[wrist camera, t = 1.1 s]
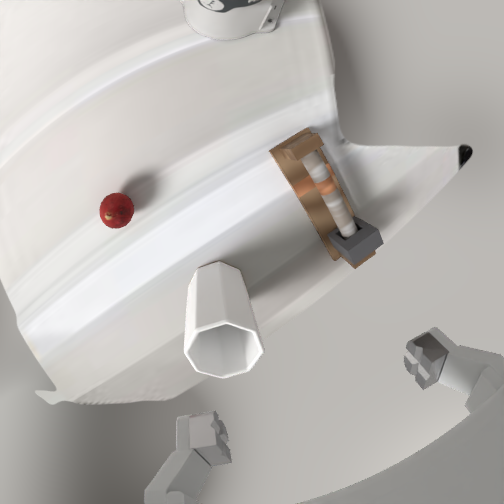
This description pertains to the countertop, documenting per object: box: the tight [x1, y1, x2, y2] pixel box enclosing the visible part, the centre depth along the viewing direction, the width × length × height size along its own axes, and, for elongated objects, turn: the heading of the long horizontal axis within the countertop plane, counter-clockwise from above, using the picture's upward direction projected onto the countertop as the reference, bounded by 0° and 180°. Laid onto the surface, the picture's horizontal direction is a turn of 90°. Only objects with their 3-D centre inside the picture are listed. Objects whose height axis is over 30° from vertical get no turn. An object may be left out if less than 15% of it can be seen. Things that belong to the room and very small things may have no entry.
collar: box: [328, 216, 384, 265], centre depth 45 cm, size 3×6×8 cm, turn 123°
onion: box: [100, 193, 134, 228], centre depth 40 cm, size 6×6×8 cm
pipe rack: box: [269, 128, 376, 269], centre depth 46 cm, size 25×8×8 cm, turn 33°
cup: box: [184, 261, 265, 378], centre depth 44 cm, size 11×11×18 cm
